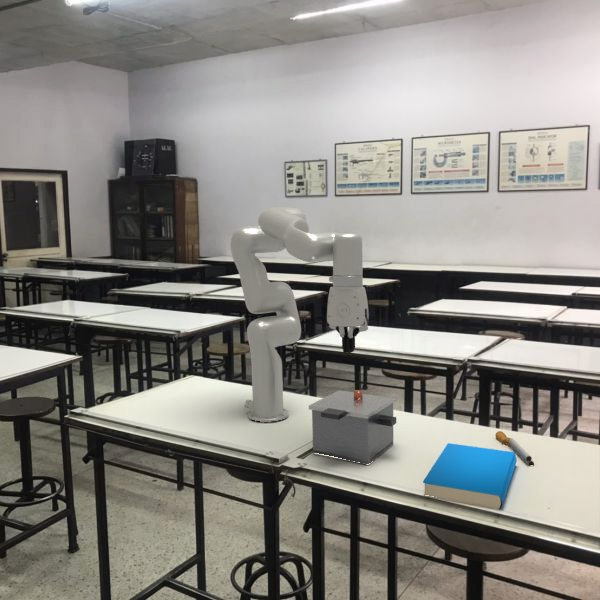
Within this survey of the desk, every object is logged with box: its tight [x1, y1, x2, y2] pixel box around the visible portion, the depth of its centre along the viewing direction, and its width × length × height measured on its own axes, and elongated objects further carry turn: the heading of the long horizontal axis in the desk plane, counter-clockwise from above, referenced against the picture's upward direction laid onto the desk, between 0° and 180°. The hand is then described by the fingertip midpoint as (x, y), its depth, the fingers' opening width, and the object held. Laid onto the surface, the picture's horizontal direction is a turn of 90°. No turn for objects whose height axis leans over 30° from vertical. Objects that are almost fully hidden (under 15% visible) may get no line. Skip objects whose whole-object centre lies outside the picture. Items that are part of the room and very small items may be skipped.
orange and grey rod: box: [495, 430, 535, 466], centre depth 160 cm, size 19×3×3 cm
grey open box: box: [311, 402, 397, 464], centre depth 162 cm, size 20×16×12 cm
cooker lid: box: [308, 389, 395, 420], centre depth 160 cm, size 17×21×3 cm
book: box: [422, 442, 518, 510], centre depth 143 cm, size 17×4×25 cm
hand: (348, 351), depth 159 cm, fingers closed
